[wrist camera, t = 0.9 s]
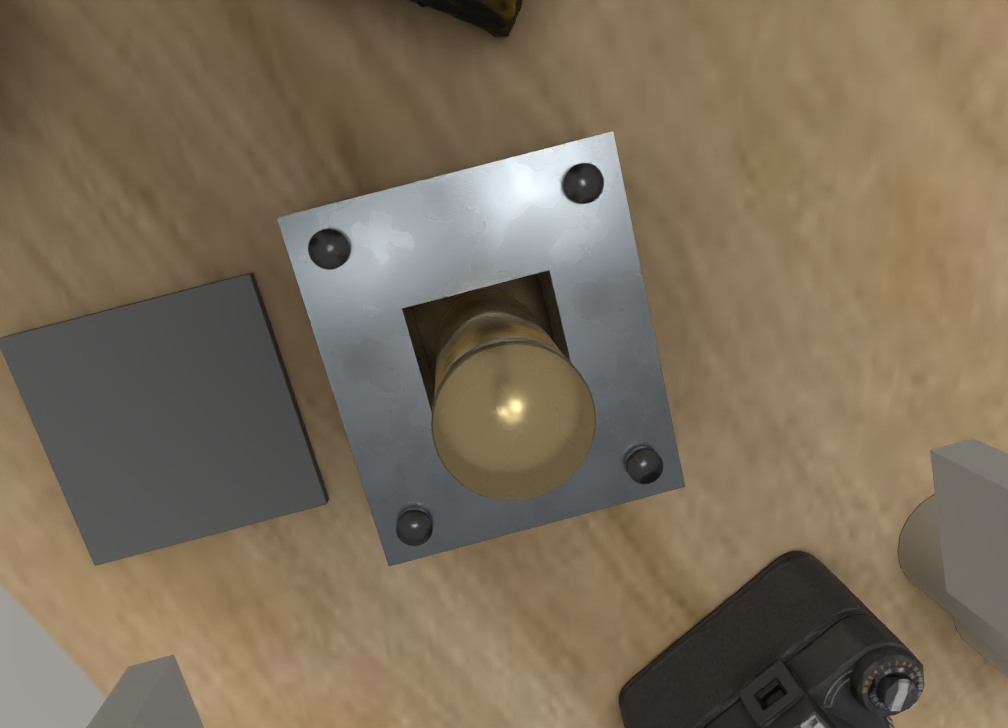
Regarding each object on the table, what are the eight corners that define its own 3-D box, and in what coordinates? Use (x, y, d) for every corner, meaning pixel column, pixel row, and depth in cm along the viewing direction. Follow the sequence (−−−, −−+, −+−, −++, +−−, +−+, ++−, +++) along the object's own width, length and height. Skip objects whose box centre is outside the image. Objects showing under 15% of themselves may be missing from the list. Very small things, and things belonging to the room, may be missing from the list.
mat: (4, 336, 34) (-4, 339, 33) (252, 272, 34) (249, 274, 33) (100, 560, 36) (94, 565, 36) (328, 499, 37) (326, 503, 36)
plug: (424, 302, 35) (411, 368, 21) (524, 276, 35) (576, 324, 21) (451, 399, 36) (455, 520, 22) (548, 374, 36) (611, 478, 23)
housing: (301, 215, 33) (273, 218, 28) (588, 141, 34) (616, 129, 28) (396, 518, 37) (387, 573, 32) (653, 449, 37) (689, 491, 32)
